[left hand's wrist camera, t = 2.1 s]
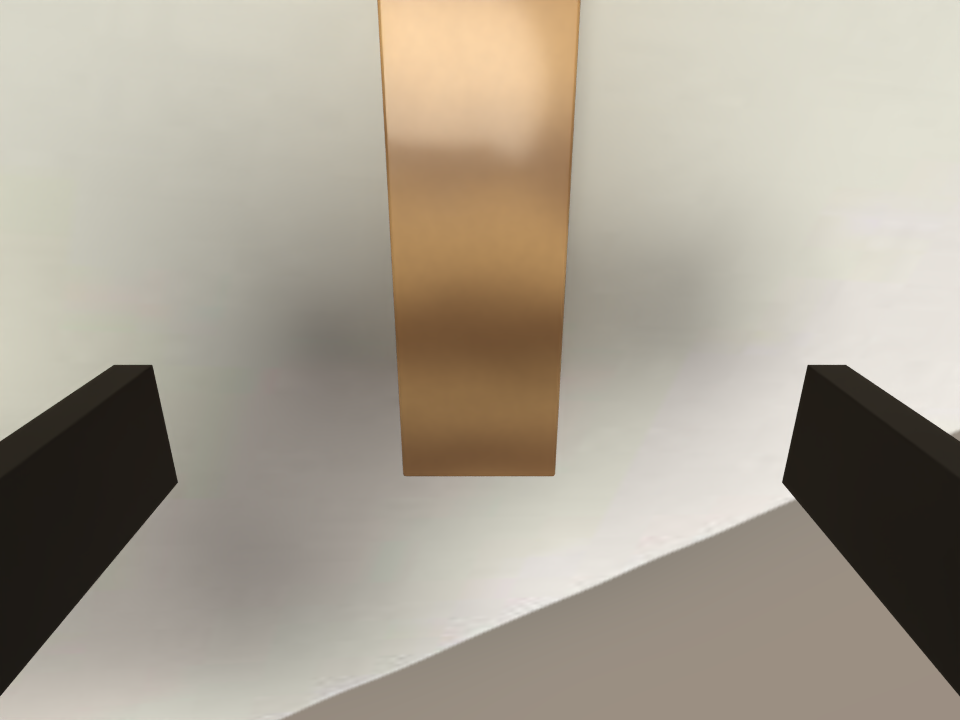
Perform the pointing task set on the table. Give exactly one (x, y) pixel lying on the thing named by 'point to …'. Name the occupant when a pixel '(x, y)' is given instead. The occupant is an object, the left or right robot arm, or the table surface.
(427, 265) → the bar
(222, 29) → the table surface
